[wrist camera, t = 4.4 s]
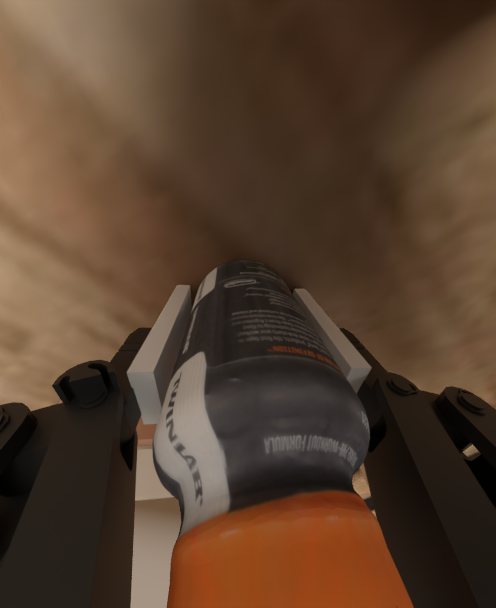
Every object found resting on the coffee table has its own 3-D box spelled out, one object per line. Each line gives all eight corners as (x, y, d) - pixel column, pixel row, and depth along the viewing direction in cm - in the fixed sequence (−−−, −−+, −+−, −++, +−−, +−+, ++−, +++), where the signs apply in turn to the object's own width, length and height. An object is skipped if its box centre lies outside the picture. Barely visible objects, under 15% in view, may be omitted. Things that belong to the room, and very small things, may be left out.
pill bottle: (176, 291, 12) (-82, 767, 2) (258, 237, 11) (633, 723, 1) (230, 349, 15) (237, 670, 5) (301, 312, 13) (502, 628, 4)
